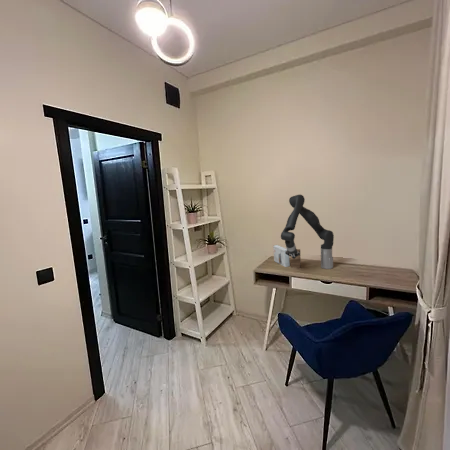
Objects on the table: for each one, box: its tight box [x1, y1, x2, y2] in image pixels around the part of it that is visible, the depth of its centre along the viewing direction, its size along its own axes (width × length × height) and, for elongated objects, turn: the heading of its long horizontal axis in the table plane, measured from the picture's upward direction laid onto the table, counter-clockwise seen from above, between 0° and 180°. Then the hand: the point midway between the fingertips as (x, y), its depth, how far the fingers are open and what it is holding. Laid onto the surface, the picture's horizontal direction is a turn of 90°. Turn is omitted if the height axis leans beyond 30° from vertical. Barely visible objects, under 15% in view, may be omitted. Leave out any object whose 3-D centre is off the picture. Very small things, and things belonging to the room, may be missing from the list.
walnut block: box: [289, 248, 302, 269], centre depth 229 cm, size 4×8×16 cm, turn 64°
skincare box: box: [272, 244, 291, 268], centre depth 241 cm, size 21×6×16 cm, turn 17°
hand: (294, 257), depth 224 cm, fingers closed
